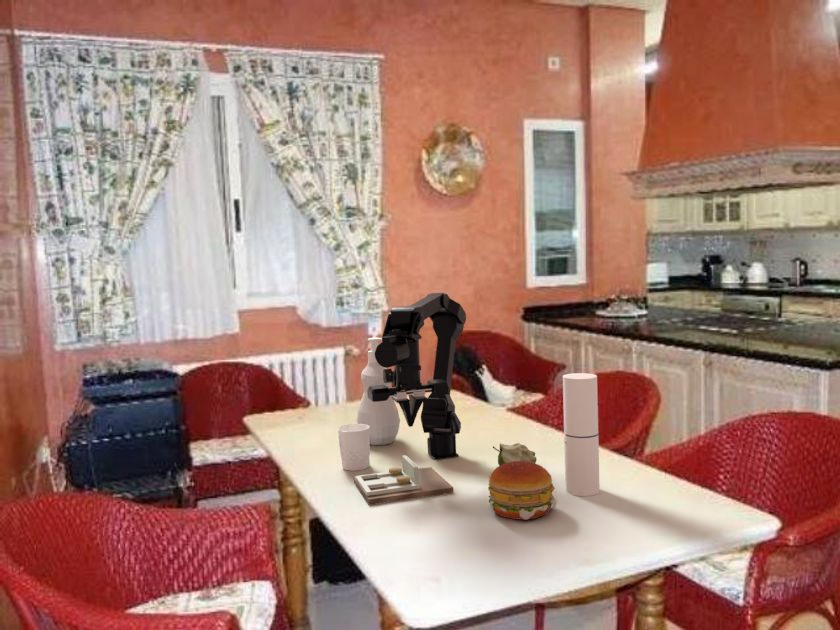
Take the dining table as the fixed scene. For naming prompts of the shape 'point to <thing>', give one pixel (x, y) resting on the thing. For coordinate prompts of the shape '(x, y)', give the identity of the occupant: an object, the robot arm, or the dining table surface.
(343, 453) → the white cup
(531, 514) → the burger
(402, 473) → the panel
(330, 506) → the dining table surface
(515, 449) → the fruit
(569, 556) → the dining table surface
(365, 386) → the soap bottle
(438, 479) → the board
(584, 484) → the cylindrical container
